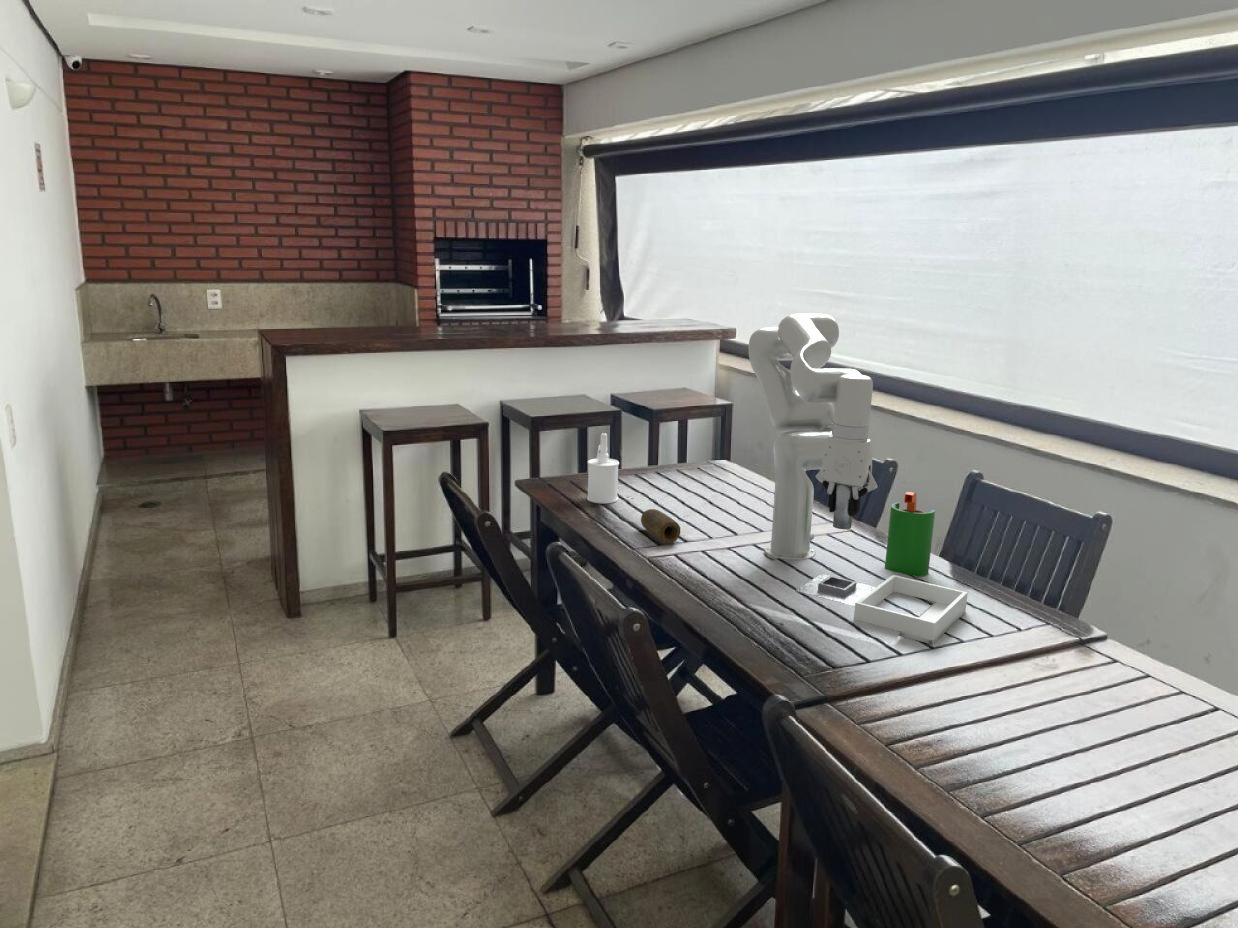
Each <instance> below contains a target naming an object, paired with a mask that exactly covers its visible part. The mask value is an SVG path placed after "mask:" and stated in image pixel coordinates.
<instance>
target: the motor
mask: <svg viewBox="0 0 1238 928" xmlns="http://www.w3.org/2000/svg"><path fill="white" fill-rule="evenodd" d="M903 501H904V503H906V508H902V509H900V502H894V503H892V504H890V510H889V511H890V514H889V521H888V522H889V523H888V532H887V533H888V534H887V542H886V551H885V552H886V553H885V560H884V561H885V563H884V569H885V570H887V571H891V572H896V573H901V574H904V575H909V576H912V577H917V578H919V577H920V578H921V577H925V576H927V575H928V574H929V572H930V571H929V569H930V562H931V561H930V560H931V552H932V542H933V536H934V535H933V534H934V532H933V531H934V526H935V525H934V524H935V516H936V510H935V509H930V510H929V511H927V512H925V511H923V510H919V509H917V493H916V492H914V491H913V492H912V491H906V492H905V494H904V500H903Z"/></svg>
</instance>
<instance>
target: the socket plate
mask: <svg viewBox="0 0 1238 928" xmlns="http://www.w3.org/2000/svg"><path fill="white" fill-rule="evenodd" d="M876 587H877V586H873V585H870V584H865V583H862V582H861V583H860V582H857V581H854V580H849V579H845V578H843V577H841V578H840V577H837V576H833V575H829V574H823V573H820V574H818V575H817V576H815V577H814V578H812V579H811V580H809V581H807V582H806V583H805V584H803V585H801V586H799V587H798V588H797V589H795V590H794V591H795V592H798V593H801V594H806V595H809V596H813V597H818V598H821V599H826V600H828V601H833V602H838V603H840V604H841V603H842V604H845V605H848V606H853V607H855V603H856V602H857V601H858V600H860V599H861V598H862V597H864V596H865V595H867V594H868V593H869V592H871V591H872V590H873V589H875V588H876Z"/></svg>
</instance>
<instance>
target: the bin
mask: <svg viewBox="0 0 1238 928" xmlns="http://www.w3.org/2000/svg"><path fill="white" fill-rule="evenodd" d="M875 587H876V588H875V589H873V590H872V591H871V592H869V593H868V594H867V595H865V596H864V597H862V598H861V599H860V600H858V601H857V602H856V603H855V606H854V611H853V612H854V613H853V620H856V621H860V622H865V623H868V624H871V625H875V626H878V627H879V626H880V627H883V628H887V629H891V630H894V631H898V632H900V633H899V634H898V636H900V637H904V638H908V639H911V640H915V641H918V642H921V643H922V642H923V643H926V644H930V645H934V644H935V643H936V642H937V641H938V640H939V639H940V637H941V636H943V634H945V633H946V632H947V631H948V630H949V629H950V628H951V627H952V626H953V625H954V624H955V623H956V621H958V620H959V619H960V618H961V617H962V616H963V615H964V614H965V613H966V611H967V610H966V609H967V602H968V593H969V592H968V591H964V590H960V589H955V588H951V587H947V586H943V585H938V584H933V583H929V582H925V581H920V580H917V579H913V578H908V577H905V576H904V577H903V576H901V575H896V574H893V575H891V576H889V577H888V578H886V579H885V580H884V581H883V582H882V583H879V584H878V585H877V586H875ZM893 593H899V594H902V595H905V596H911V597H913V598H919V599H924V600H927V601H932V602H933V604H931V605H930V606H929V607H928V608H927V609H926V610H924V611H923V613H921V614H920V615H919V616H918V617H917V616H915V615H911V614H906V613H901V612H899V611H895V610H891V609H888V608H882V607H879V606H877V605H879V603H880V602H883V600H884V599H886V598H887V597H888V596H890V595H891V594H893Z"/></svg>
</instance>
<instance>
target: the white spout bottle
mask: <svg viewBox="0 0 1238 928" xmlns="http://www.w3.org/2000/svg"><path fill="white" fill-rule="evenodd" d="M608 450H609V448H608V434H607V433H605V432H604V433H603V432H602V433H601V434H600V442H599V444H598V448H597V453H596V458H592V459H589V460H587V465H588V470H587V471H588V473H587V474H588V475H587V477H588V479H587V480H588V481H587V497H586V499H587V501H588V502H591V503H594V504H612V503H616V502H617V501H618V500H619V497H618V485H619V483H618V482H619V481H618V480H619V475H618V474H619V465H620V462H619V460H617V459H613V458H609V453H608Z"/></svg>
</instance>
